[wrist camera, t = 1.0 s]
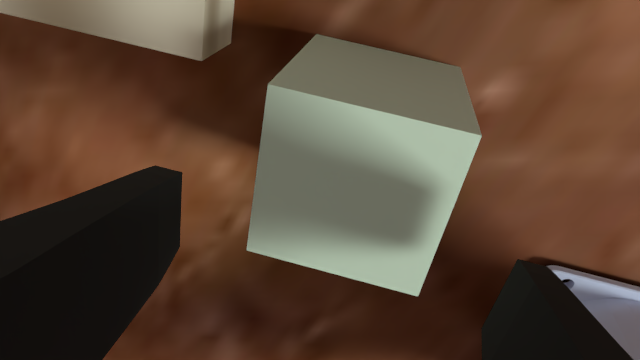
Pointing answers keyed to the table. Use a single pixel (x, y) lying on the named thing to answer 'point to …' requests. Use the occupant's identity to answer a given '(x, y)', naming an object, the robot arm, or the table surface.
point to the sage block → (361, 162)
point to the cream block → (139, 21)
